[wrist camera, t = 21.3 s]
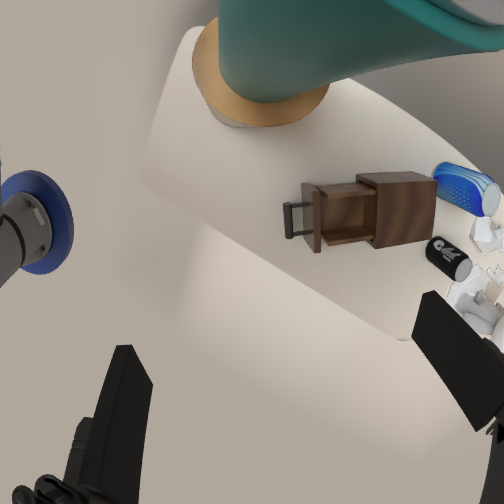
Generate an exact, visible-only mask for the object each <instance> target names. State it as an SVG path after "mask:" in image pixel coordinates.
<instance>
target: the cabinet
mask: <svg viewBox="0 0 504 504" xmlns="http://www.w3.org/2000/svg"><path fill="white" fill-rule="evenodd" d="M362 182H365V183H367V184H369V185H371V186H373V187H376V190H375V221H374V239H371V240H365V241H367V242H368V243H369V244H370V245H371V246H372V247H373V248H374V249H380V248H385V247H391V246H397V245H402V244H408V243H413V242H419V241H424V240H430V239H432V233H433V225H434V217H435V207H436V196H437V182H438V181H437V180H435V179H432V178H429V177H427V176H424V175H421V174H418V173H415V172H413V171H411V172H384V173H365V174H356V183H362Z"/></svg>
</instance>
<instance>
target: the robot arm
mask: <svg viewBox="0 0 504 504" xmlns="http://www.w3.org/2000/svg"><path fill="white" fill-rule="evenodd" d="M0 167H1V160H0ZM0 172H1V169H0ZM53 237H54V229H53V223H52V219H51V216H50V214H49V211H48V209H47V208H46V206H45V204H44V203H43V202H42V201H41V200H40V199H39V198H38V197H37V196H36V195H34V194H32V193H30V192H26V191H21V192H17V193H15V194H13V195H12V196H10V197H9V198H8V199H7V200H6V201H5V202H4V203H3V205H2V195H1V173H0V288H1V287H2V285H3V284H4V283H5V282H6V281H7V280H8V279H9V278H10V277H11V276H12V275H13V274H14V273H15V272H16V271H17V270H18V269H19V268H20V267H21V266H25V265H28V264H31V263H35V262H37V261H39V260H41V259H42V258H43V257H44V256H45V255H46V254H47V253H48V252H49V251H50V249H51V246H52V243H53ZM411 337H412V339H413V340H414V341H415V342H416V344H417V345H418V347H419V348H420V349H421V351H422V352H423V353H424V355H425V356H426V358H427V359H428V360H429V362H430V363H431V365H432V366H433V367H434V369H435V370H436V371H437V373H438V375H439V376H440V377H441V379H442V380H443V382H444V383H445V385H446V386H447V388H448V389H449V391H450V392H451V394H452V395H453V397H454V398H455V399H456V401H457V403H458V404H459V406H460V407H461V409H462V410H463V412H464V414H465V415H466V417H467V418H468V420H469V422H470V423H471V425H472V427H473V428H474V430H475V432H477V431H479V430H480V429H482V428H483V427H484V426H486V425H487V424H488V423H489V422H490V421H491V420H492V419H493V417H494V416H495V418H496V420H495V421H494V422H493V423H492V425H491V426H490V427H489V428H488V429H487V431H486V435H487V434H488V433H489V432H490V431H491V430H492V429H493V431H492V432H491V434H490V435H493V438H492V445H491V452H490V458H489V464H488V469H487V475H486V479H485V483H484V488H483V492H482V496H481V499H480V503H479V504H504V354H503V353H502V352H500V349H499V348H498V347H497V346H496V345H495V344H494V343H493V342H492V341H490V340H488V339H487V338H483V339H482V338H481V337H480V336H479V335H478V334H477V333H476V332H475V331H474V330H473V329H472V328H471V326H470V325H469V324H468V323H467V322H466V321H465V320H464V319H463V318H462V317H461V316H460V315H459V314H458V313H457V312H456V311H455V310H454V309H453V308H452V307H451V306H450V305H449V304H448V303H447V302H446V301H445V300H444V299H443V298H442V297H441V296H440V295H439V294H438V293H437V292H436V291H435V290H433V291H430V292H426V293H423V295H422V299H421V303H420V307H419V311H418V315H417V318H416V322H415V325H414V329H413V332H412V336H411ZM152 388H153V384H152V382H151V380H150V378H149V376H148V375H147V373H146V371H145V369H144V367H143V365H142V364H141V362H140V360H139V358H138V356H137V354H136V352H135V350H134V348H133V346H132V345H117V346H116V348H115V351H114V354H113V357H112V360H111V363H110V366H109V368H108V372H107V374H106V378H105V381H104V384H103V387H102V390H101V393H100V396H99V400H98V403H97V406H96V410H95V413H94V417H93V418H89V417H84V418H83V419H82V421H81V422H80V423H79V425H78V426H77V428H76V432H75V435H74V440H73V443H72V449H71V450H70V454H69V458H68V462H67V466H66V471H65V475H64V479H63V482H62V481H61V480H59V479H58V478H56V477H55V476H53V475H49V474H46V475H42V476H41V477H40V478H38V479H37V481H36V483H35V488H34V491H33V490H31V489H30V488H28V487H26V486H23V485H20V486H17V487H16V488H15V489H14V491H13V493H12V503H13V504H138V501H139V489H140V478H141V468H142V458H143V450H144V442H145V434H146V427H147V420H148V413H149V407H150V401H151V395H152Z"/></svg>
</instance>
